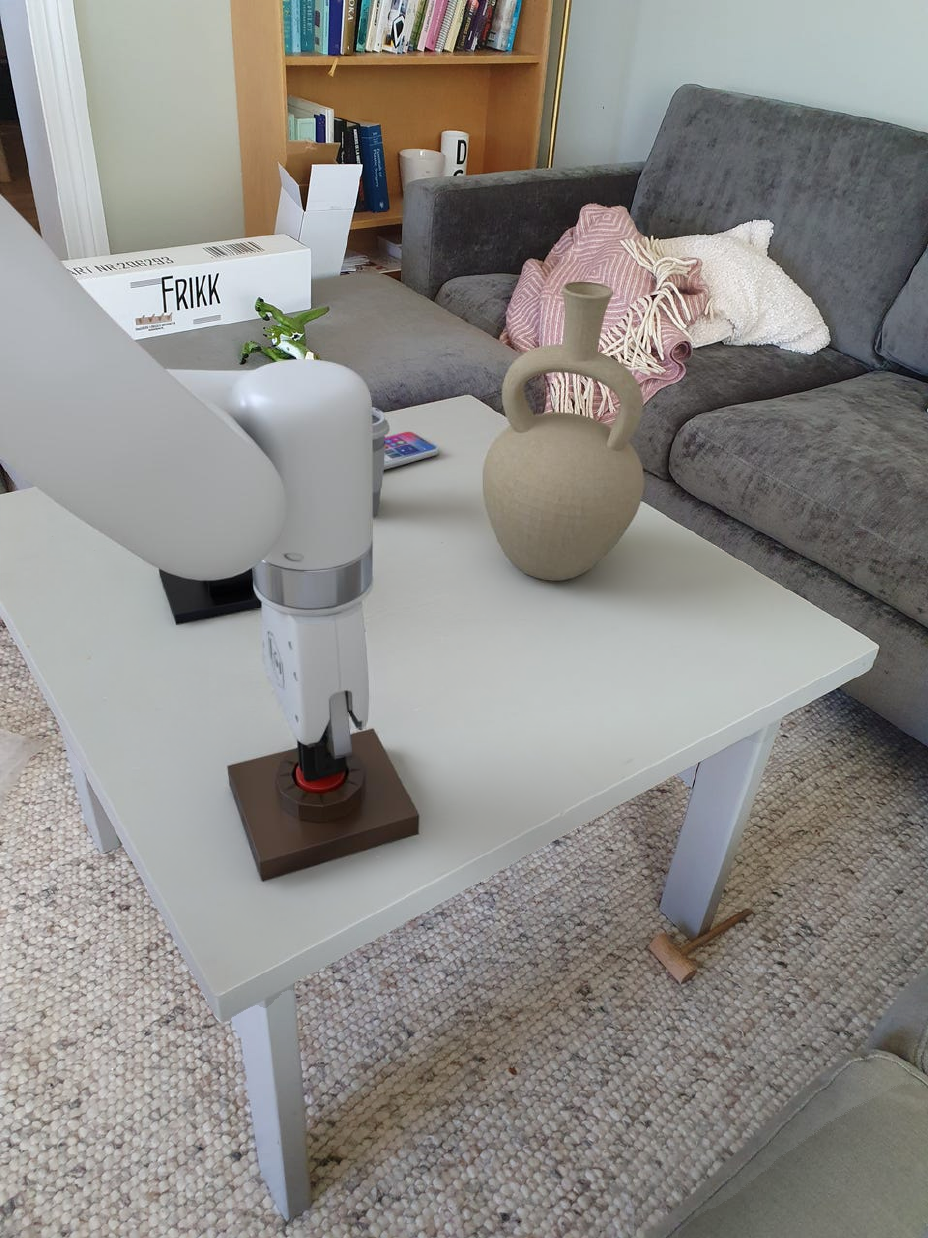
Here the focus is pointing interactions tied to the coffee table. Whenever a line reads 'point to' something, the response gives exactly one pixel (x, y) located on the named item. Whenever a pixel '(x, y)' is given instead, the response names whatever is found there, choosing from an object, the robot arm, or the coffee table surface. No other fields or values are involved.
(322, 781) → the button
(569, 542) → the vase
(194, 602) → the bracket
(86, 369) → the robot arm
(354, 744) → the button box
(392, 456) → the smartphone
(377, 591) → the coffee table surface
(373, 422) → the cup
